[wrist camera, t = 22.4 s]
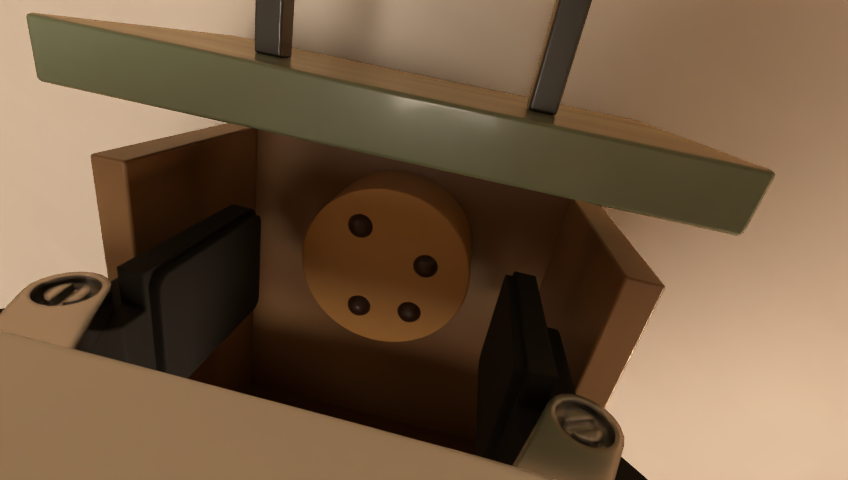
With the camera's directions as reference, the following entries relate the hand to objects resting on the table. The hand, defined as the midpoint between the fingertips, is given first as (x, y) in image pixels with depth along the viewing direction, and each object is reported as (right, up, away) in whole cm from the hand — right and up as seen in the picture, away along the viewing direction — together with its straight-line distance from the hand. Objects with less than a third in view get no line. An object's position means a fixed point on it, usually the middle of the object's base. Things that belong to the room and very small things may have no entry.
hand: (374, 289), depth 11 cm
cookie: (0, +1, +3) cm, 3 cm away
